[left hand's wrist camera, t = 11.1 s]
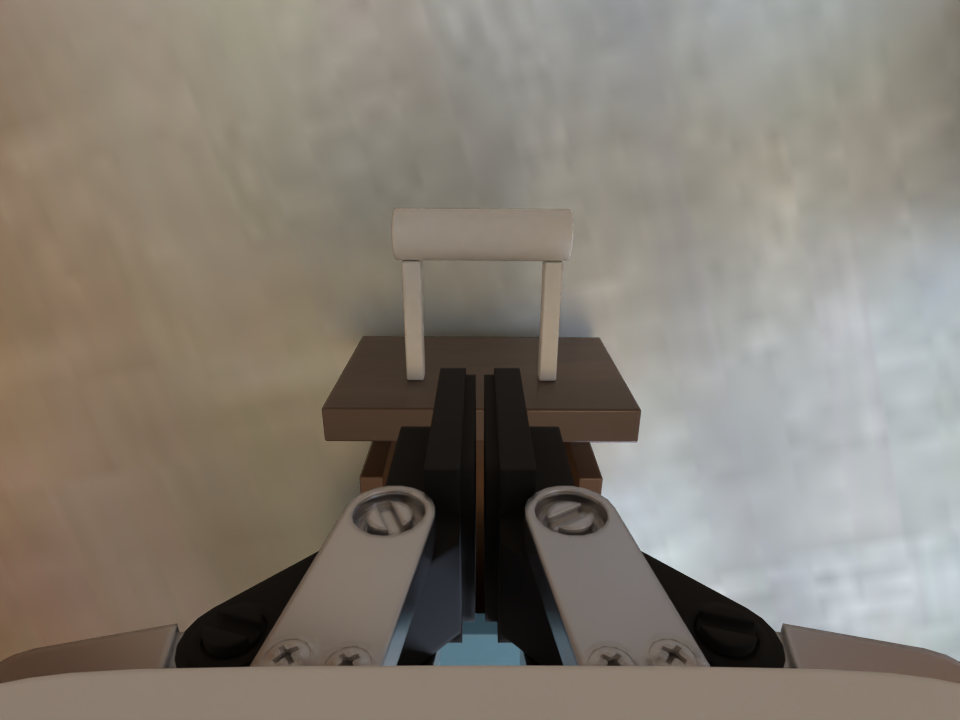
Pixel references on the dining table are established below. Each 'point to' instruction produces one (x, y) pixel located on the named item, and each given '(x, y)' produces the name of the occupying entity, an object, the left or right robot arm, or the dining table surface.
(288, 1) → the dining table surface
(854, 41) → the dining table surface
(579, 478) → the drawer
